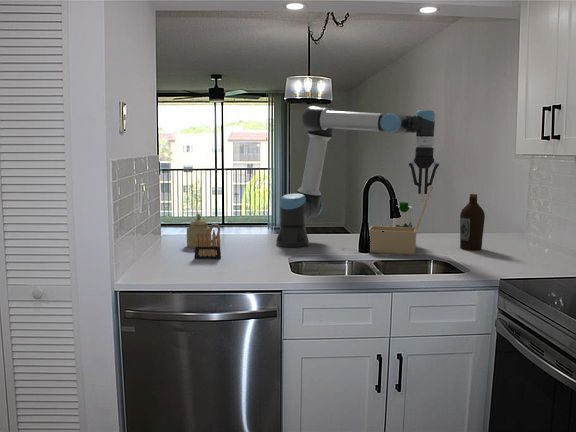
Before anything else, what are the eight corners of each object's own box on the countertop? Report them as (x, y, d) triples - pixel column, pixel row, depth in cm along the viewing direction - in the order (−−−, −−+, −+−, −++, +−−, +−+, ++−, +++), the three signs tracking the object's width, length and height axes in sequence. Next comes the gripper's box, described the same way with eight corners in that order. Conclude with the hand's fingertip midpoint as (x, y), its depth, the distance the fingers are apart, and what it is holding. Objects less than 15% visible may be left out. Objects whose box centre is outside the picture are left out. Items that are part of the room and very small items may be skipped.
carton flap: (430, 186, 239) (432, 187, 239) (431, 184, 252) (433, 185, 252) (414, 231, 243) (417, 231, 243) (416, 226, 256) (418, 227, 256)
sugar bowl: (218, 243, 268) (218, 211, 266) (220, 248, 257) (220, 214, 255) (186, 244, 265) (186, 212, 263) (187, 248, 254) (186, 215, 253)
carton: (367, 252, 250) (368, 229, 249) (371, 247, 262) (371, 225, 261) (414, 255, 245) (414, 232, 243) (415, 249, 257) (416, 227, 256)
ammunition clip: (194, 258, 233) (193, 229, 231) (195, 258, 235) (194, 229, 233) (220, 259, 233) (220, 230, 231) (221, 258, 235) (220, 229, 233)
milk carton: (393, 245, 267) (394, 203, 264) (391, 242, 276) (393, 201, 273) (412, 246, 266) (414, 203, 263) (410, 242, 275) (411, 201, 272)
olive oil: (473, 246, 268) (475, 192, 264) (488, 250, 258) (491, 195, 254) (453, 247, 264) (456, 193, 261) (468, 251, 254) (471, 195, 251)
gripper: (408, 146, 242) (406, 201, 245) (440, 147, 239) (437, 203, 242) (409, 146, 250) (407, 200, 253) (440, 147, 246) (437, 201, 249)
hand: (422, 201), depth 247 cm, fingers closed
